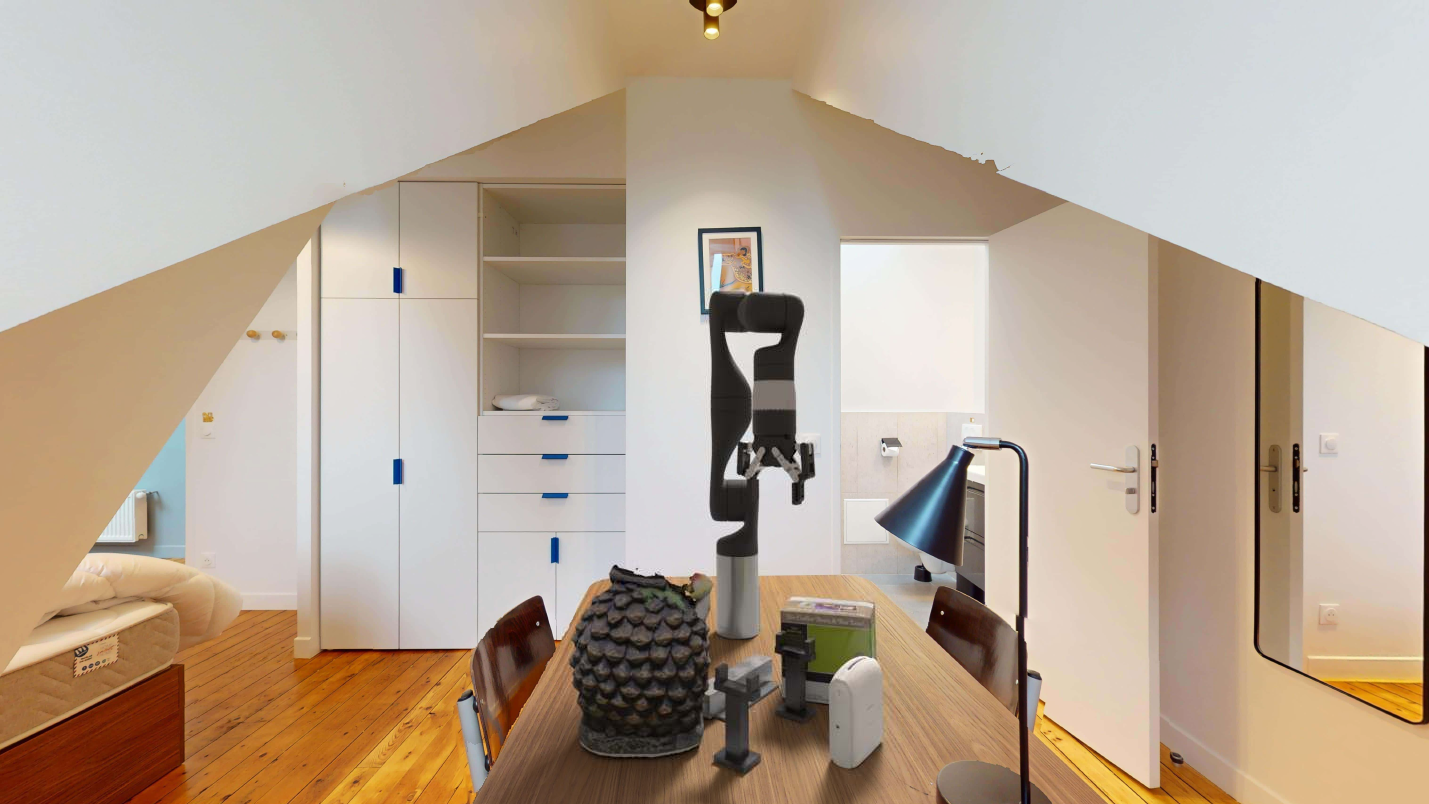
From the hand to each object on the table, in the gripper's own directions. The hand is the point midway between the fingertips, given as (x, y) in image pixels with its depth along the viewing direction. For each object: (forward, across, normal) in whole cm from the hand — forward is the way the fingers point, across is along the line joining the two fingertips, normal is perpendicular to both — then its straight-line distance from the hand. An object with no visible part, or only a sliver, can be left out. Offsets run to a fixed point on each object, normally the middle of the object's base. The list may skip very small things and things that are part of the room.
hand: (774, 502), depth 100 cm
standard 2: (+32, -6, +4) cm, 33 cm away
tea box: (+32, -7, -6) cm, 34 cm away
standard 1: (+32, -6, +20) cm, 38 cm away
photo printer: (+32, -18, +8) cm, 38 cm away
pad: (+32, +5, +5) cm, 33 cm away
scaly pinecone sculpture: (+32, +8, +24) cm, 41 cm away
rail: (+32, +5, +5) cm, 32 cm away
